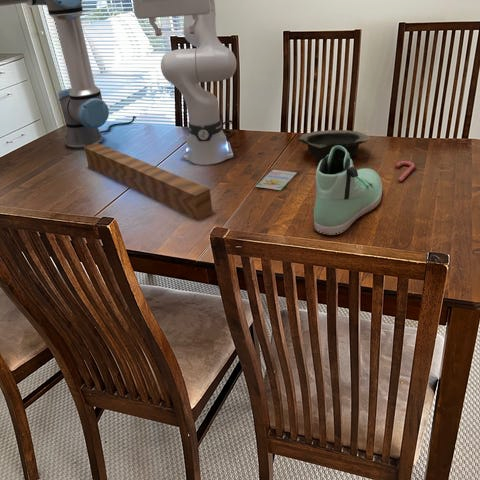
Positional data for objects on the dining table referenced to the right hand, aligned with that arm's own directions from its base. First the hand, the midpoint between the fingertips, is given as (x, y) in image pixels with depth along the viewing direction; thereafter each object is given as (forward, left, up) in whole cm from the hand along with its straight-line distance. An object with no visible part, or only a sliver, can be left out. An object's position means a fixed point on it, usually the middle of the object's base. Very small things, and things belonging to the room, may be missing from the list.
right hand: (176, 34), depth 129 cm
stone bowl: (-28, +46, -48) cm, 72 cm away
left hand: (-10, -84, -20) cm, 87 cm away
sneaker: (+13, +47, -48) cm, 68 cm away
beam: (-6, -19, -48) cm, 52 cm away
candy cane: (-11, +67, -48) cm, 83 cm away
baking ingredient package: (-8, +26, -48) cm, 55 cm away
